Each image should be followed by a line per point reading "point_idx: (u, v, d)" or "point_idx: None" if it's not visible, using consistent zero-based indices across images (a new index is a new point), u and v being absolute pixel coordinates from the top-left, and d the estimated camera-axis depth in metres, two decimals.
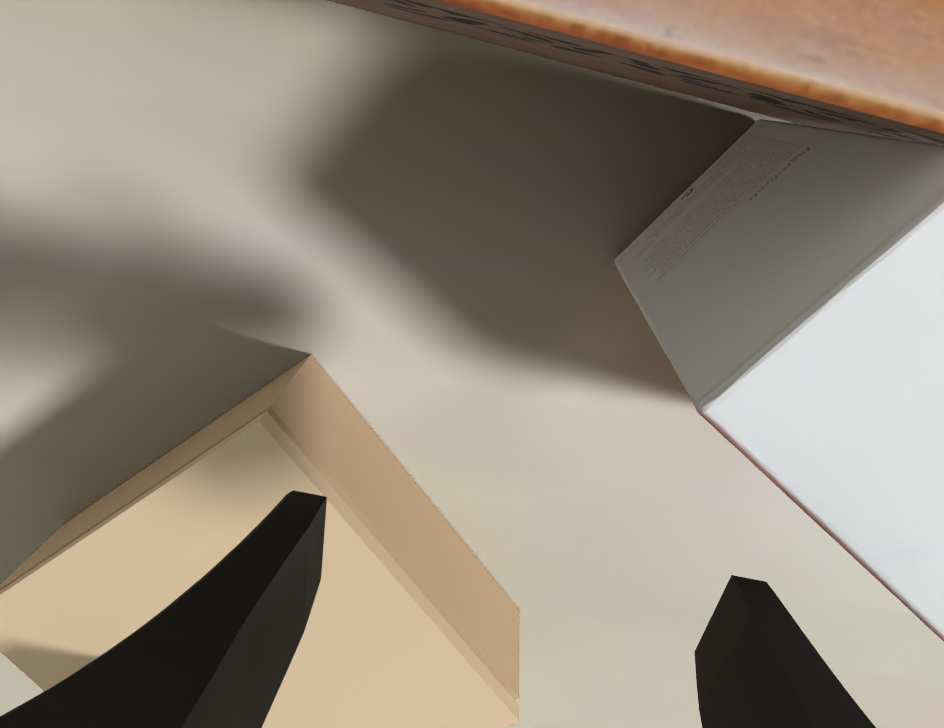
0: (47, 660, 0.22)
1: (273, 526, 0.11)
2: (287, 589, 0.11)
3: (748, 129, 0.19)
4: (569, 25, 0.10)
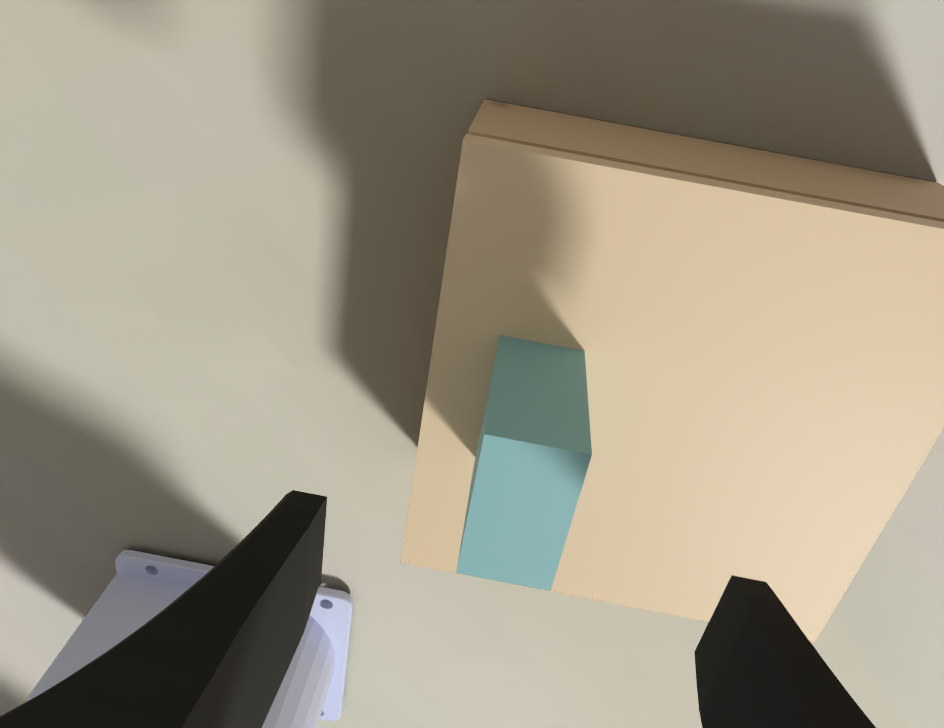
0: (492, 263, 0.16)
1: (273, 526, 0.11)
2: (287, 589, 0.11)
3: None
4: None
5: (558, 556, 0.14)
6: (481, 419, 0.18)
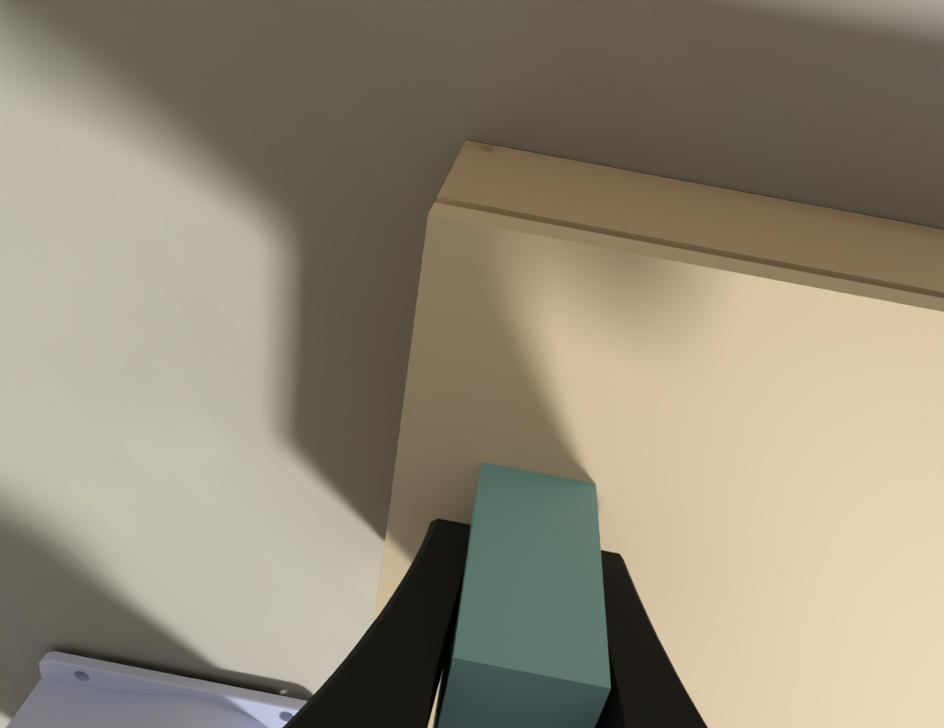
0: (471, 374, 0.12)
1: (433, 557, 0.11)
2: (451, 621, 0.11)
3: None
4: None
5: None
6: None
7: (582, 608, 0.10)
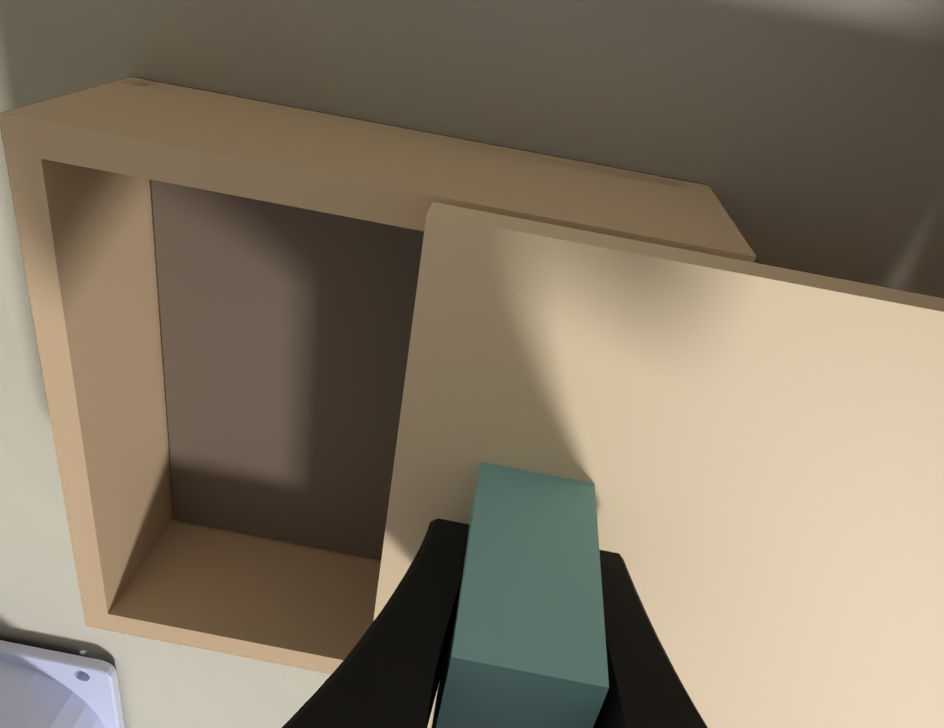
0: (470, 374, 0.12)
1: (433, 557, 0.11)
2: (450, 621, 0.11)
3: None
4: None
5: None
6: None
7: (580, 608, 0.10)
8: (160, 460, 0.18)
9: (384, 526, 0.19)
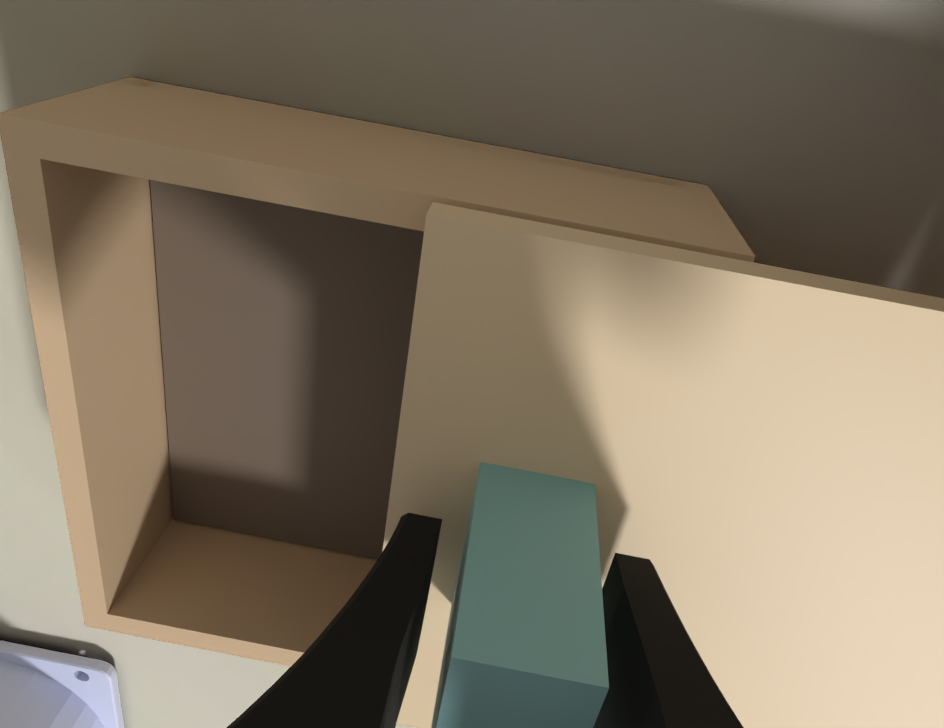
0: (470, 374, 0.12)
1: (401, 551, 0.11)
2: (418, 615, 0.11)
3: None
4: None
5: None
6: (458, 561, 0.14)
7: (580, 608, 0.10)
8: (159, 460, 0.18)
9: (383, 526, 0.19)
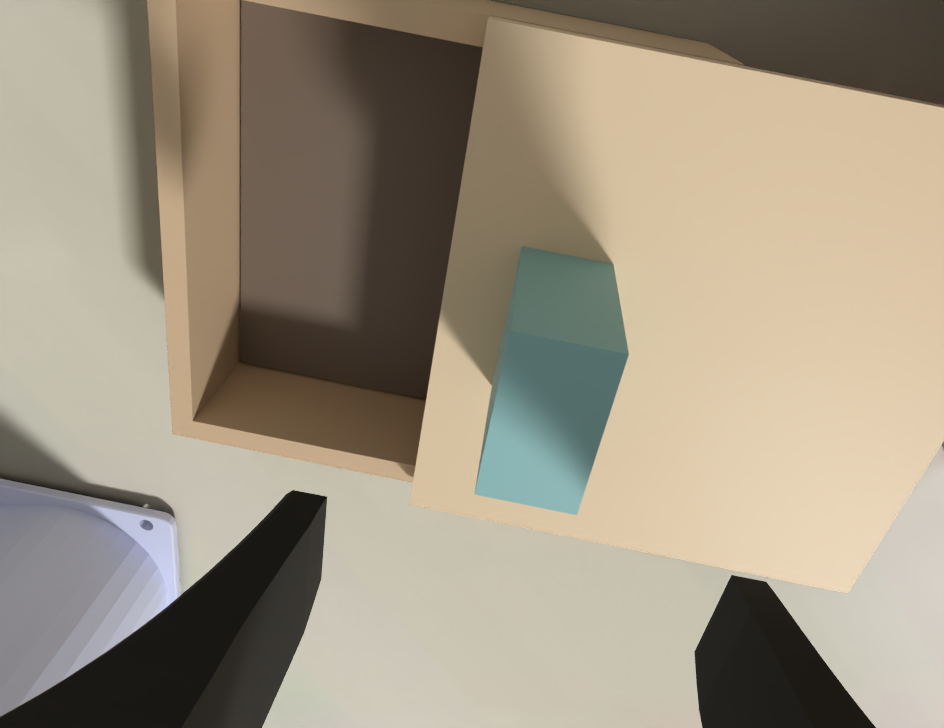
0: (516, 163, 0.14)
1: (273, 526, 0.11)
2: (287, 589, 0.11)
3: None
4: None
5: (587, 474, 0.13)
6: (499, 343, 0.16)
7: (605, 319, 0.13)
8: (233, 300, 0.21)
9: (424, 364, 0.22)
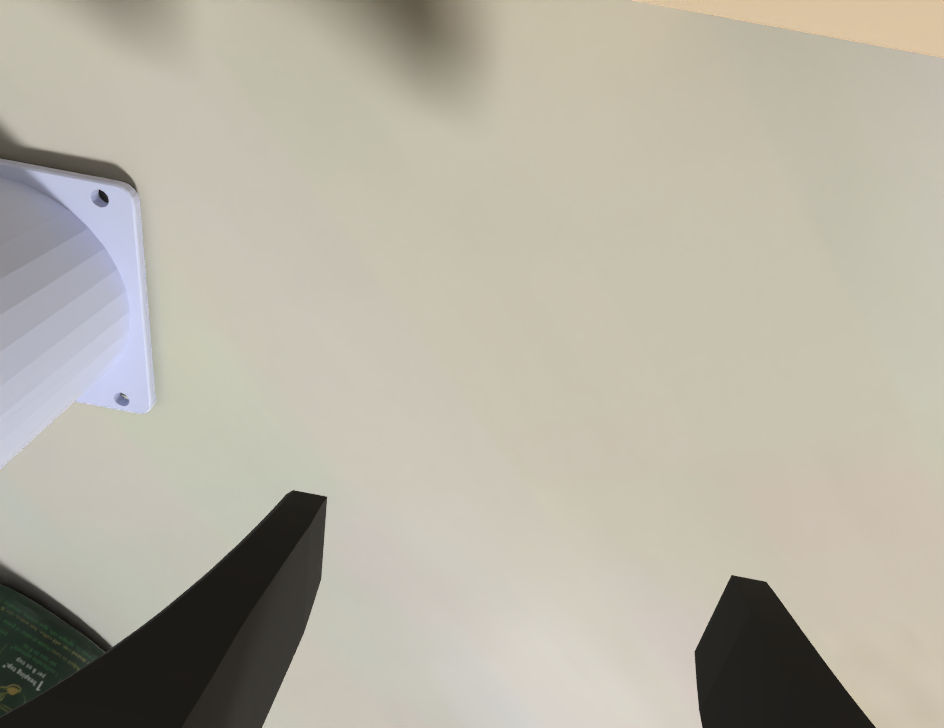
0: None
1: (273, 526, 0.11)
2: (287, 589, 0.11)
3: None
4: None
5: None
6: None
7: None
8: None
9: None
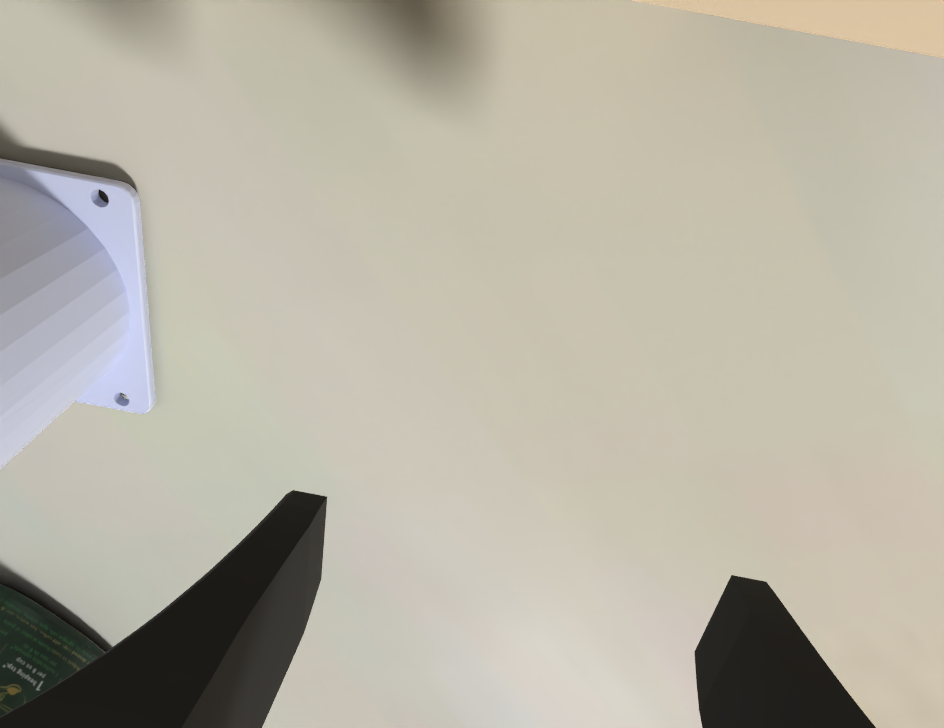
0: None
1: (273, 526, 0.11)
2: (287, 589, 0.11)
3: None
4: None
5: None
6: None
7: None
8: None
9: None
